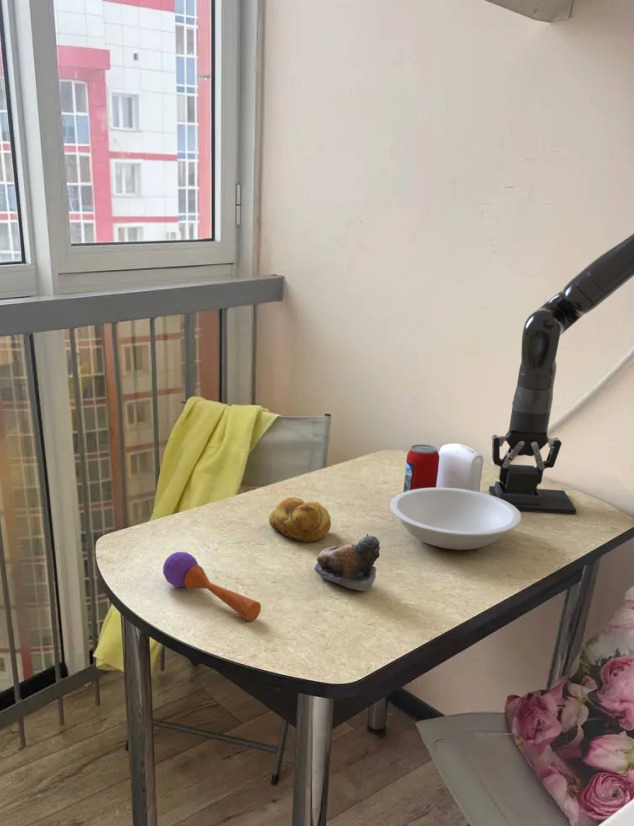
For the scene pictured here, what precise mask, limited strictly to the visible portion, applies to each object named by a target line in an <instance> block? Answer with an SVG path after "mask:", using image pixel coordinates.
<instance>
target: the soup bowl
mask: <svg viewBox="0 0 634 826" xmlns="http://www.w3.org/2000/svg"><path fill="white" fill-rule="evenodd" d="M389 509H390V511H391V513H392V514H393V515H394V516H395V518H397V519H398V520H399V521H400V522H401V524H402V525H403V526H404V528H405V529H406V530H407V531H408V532H409V533H410V534H411V535H412V536H414V537H415V538H416V539H418V540H420V541H421V542H423V543H426V544H427V545H431V546H434V547H437V548H440V549H448V550H456V551H457V550H459V551H461V550H474V549H480V548H482V547H486V546H488V545H491V544H493V543H495V542H496V541H498V540H500V539H501V538H502V537H503V536H504V535H505V534H506V533H507V532H511V531H512V530H514V529H516V528H517V527H518V526H520V524H521V522H522V519H523V518H522V514H521V511H519V510H518V509H517V508H516V507H514V506H513V505H512V504H510V503H508V502H507V501H505V500H502V499H500V498H498V497H495V496H492V495H491V494H490V493H489V494H488V493H485V492H481V491H479V492H477V491H472V490H466V489H458V488H443V487H435V488H421V489H414V490H410V491H406V492H400V493H398V494H397V495H395V496H394V497H392V499H391V500H390V503H389Z"/></svg>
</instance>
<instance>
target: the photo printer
mask: <svg viewBox="0 0 634 826" xmlns="http://www.w3.org/2000/svg"><path fill="white" fill-rule="evenodd" d="M438 454H439V457H440V458H439V467H438V476H437V484H436V487H443V488H458V489H466V490H472V491H477V492H481V491H480V489H481V481H482V475H483V467H484V457H483V455H482V454H481V453H479V452H478V451H477V450H476V449H474V448H472V447H469V446H467V445H464V444H461V443H448V444H444V445H442V446H441V448H440V449H439V452H438Z"/></svg>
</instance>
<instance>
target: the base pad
mask: <svg viewBox="0 0 634 826" xmlns="http://www.w3.org/2000/svg"><path fill="white" fill-rule="evenodd" d="M488 492H489V495H492V496H495V497H498V498H500V499H502V500H505V501H507V502H508V503H510V504H512V505H513V506H514V507H516V508H517V509H518V510H519V512H528V513H529V512H531V513H544V514H545V513H547V514H560V515H563V514H564V515H577V508H576V507H575V505H574V504H573V502H572V501H571V499H570V498H569V495H568V494H567V493H566V491H565V490H563V489H562V490H561V489H549V488H548V489H545V488H538V487H537V488H536V492H522V491H507V490H506V488H505V486H504V484H502V482H500V481H495V482H494V485H488Z"/></svg>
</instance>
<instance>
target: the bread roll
mask: <svg viewBox="0 0 634 826" xmlns="http://www.w3.org/2000/svg"><path fill="white" fill-rule="evenodd" d="M268 522H269V525H270V526H271V528H272V529H274V530H275V531H278V532H280V533H281V534H282V535H284V536H286V537H287V538H289V539H291V540H295V541H298V542H304V543H311V542H317V541H319V540H321V539H323V538H324V537H325V536H326V535H327V534H329V532H330V530H331V526H332V520H331V516H330V513H329V511H328V510H327V508H326V507H325V506H323V505H322V504H321V503H319V502H318V501H307V502H305V501H304V500H303V499H302V498H299V497H293V496H290V497H286V498H285V499H283V500H281V501H280V502H279V503H277V505H276V506H275V508H274V509H273V510H271V512H270V513H269V515H268Z"/></svg>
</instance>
